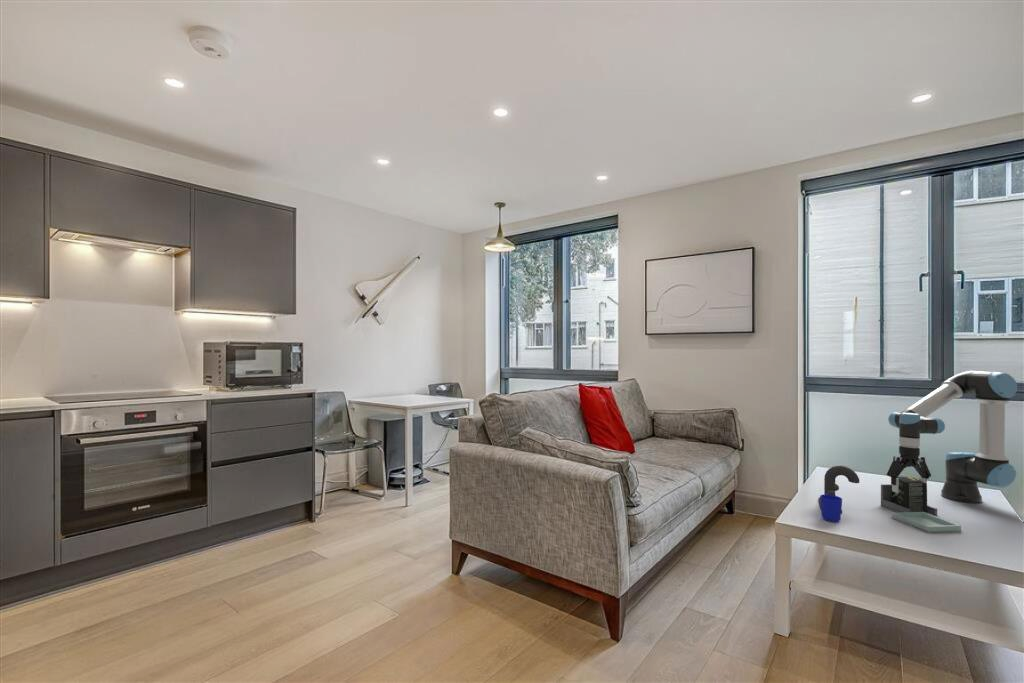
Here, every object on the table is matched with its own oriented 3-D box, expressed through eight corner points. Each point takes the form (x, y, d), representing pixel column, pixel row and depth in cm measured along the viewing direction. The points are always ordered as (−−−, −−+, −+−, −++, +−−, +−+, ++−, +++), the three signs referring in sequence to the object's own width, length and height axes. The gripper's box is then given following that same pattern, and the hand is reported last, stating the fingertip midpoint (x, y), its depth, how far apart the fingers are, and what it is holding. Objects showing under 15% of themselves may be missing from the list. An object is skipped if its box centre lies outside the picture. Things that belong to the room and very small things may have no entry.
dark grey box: (928, 515, 221) (928, 483, 221) (904, 513, 222) (904, 481, 222) (913, 507, 231) (913, 476, 231) (891, 506, 233) (891, 475, 233)
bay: (907, 504, 235) (907, 483, 235) (937, 515, 220) (937, 493, 220) (880, 505, 234) (880, 484, 234) (908, 516, 219) (908, 494, 219)
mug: (836, 515, 220) (836, 493, 220) (844, 524, 209) (844, 501, 209) (815, 512, 223) (815, 491, 223) (822, 522, 212) (822, 499, 212)
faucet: (862, 516, 218) (862, 472, 219) (820, 510, 226) (820, 467, 226) (857, 505, 234) (857, 463, 234) (818, 499, 242) (818, 459, 242)
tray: (923, 517, 218) (923, 511, 218) (961, 531, 201) (961, 525, 201) (892, 517, 217) (892, 512, 217) (927, 532, 200) (927, 526, 200)
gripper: (926, 444, 232) (925, 489, 232) (877, 444, 230) (877, 489, 229) (941, 448, 224) (941, 494, 224) (891, 448, 222) (890, 494, 222)
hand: (908, 491), depth 227 cm, fingers open, 13 cm apart
